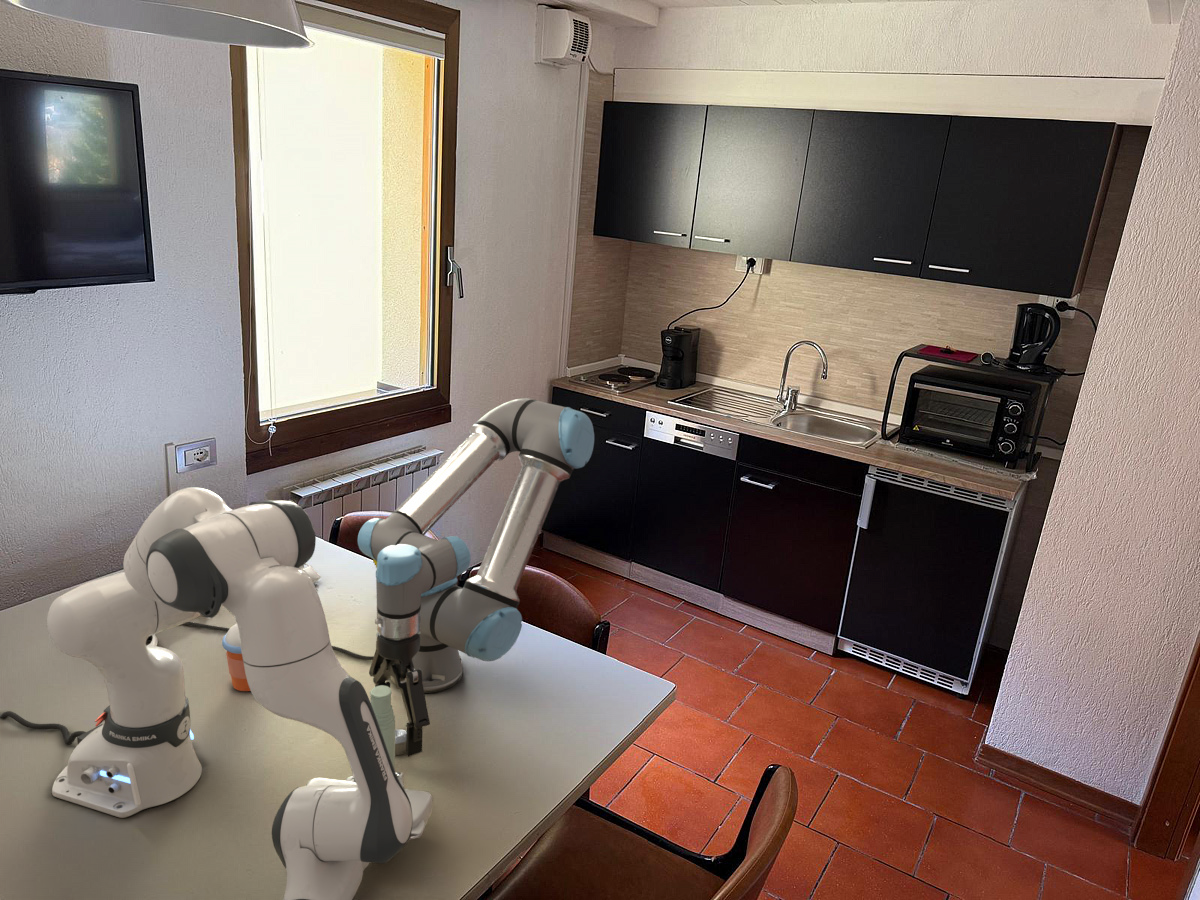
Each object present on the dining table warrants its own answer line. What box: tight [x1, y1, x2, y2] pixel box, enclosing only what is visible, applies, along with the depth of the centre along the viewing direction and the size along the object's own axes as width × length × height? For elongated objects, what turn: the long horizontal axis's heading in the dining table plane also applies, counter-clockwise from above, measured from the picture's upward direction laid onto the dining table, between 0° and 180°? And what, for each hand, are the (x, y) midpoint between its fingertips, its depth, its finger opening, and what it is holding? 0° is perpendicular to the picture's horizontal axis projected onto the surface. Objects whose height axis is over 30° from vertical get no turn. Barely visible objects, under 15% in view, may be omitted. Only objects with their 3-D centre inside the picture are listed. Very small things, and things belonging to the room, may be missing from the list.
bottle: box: [369, 685, 396, 771], centre depth 139 cm, size 4×4×23 cm
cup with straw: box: [221, 622, 251, 692], centre depth 171 cm, size 9×9×18 cm
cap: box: [395, 728, 407, 756], centre depth 158 cm, size 4×4×3 cm
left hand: (382, 773), depth 142 cm, fingers closed on bottle, 4 cm apart
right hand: (397, 733), depth 158 cm, fingers open, 13 cm apart
